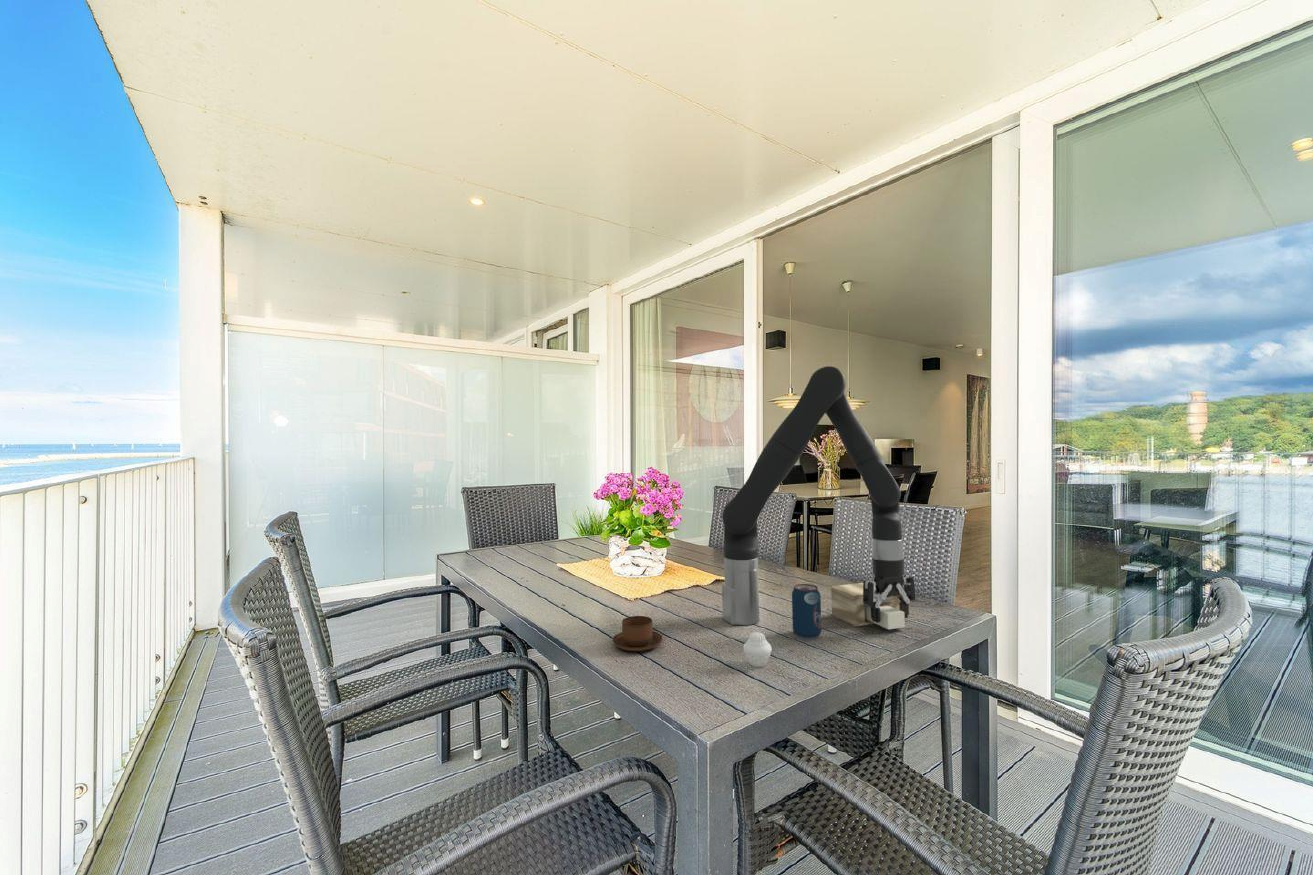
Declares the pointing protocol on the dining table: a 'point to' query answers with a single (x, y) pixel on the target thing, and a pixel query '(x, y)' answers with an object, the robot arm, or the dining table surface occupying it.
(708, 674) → the dining table surface
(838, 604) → the dispenser
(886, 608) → the white two-segment bar
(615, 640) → the cup and saucer
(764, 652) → the white rounded piece
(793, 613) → the soda can
